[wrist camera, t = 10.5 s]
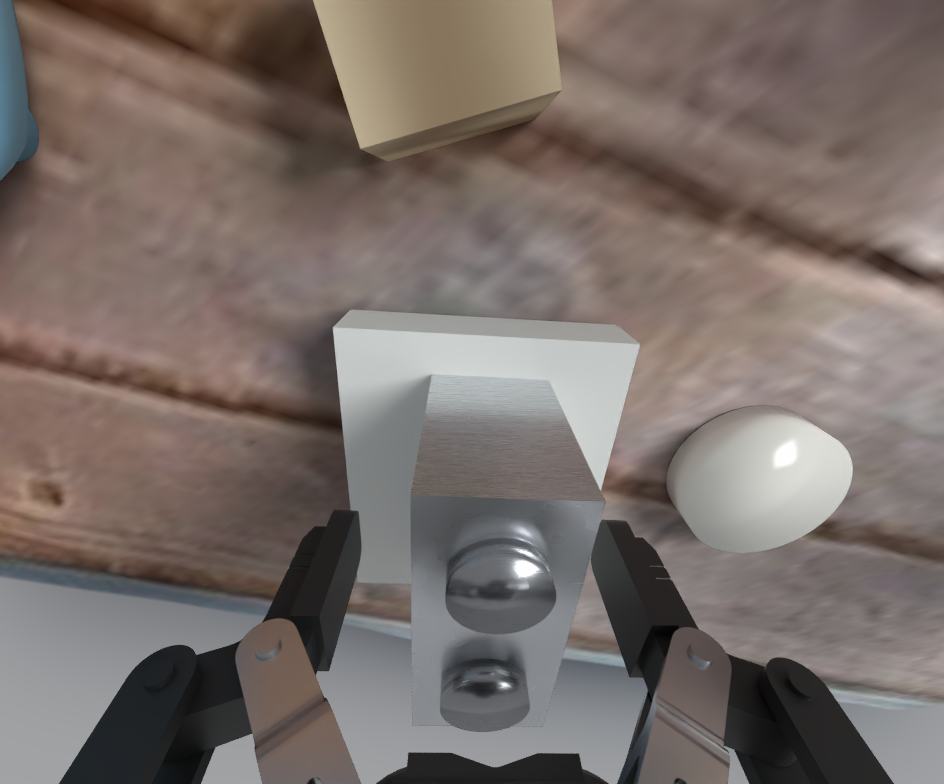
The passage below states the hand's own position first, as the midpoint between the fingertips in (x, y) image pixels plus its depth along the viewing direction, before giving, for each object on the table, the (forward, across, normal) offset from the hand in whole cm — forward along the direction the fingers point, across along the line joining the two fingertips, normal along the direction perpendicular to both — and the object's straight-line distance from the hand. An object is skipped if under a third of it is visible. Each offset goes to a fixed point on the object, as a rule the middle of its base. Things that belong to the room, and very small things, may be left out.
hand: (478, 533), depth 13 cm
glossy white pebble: (+6, -13, +1) cm, 14 cm away
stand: (+6, 0, 0) cm, 6 cm away
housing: (+3, 0, 0) cm, 3 cm away
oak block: (+6, +2, -14) cm, 15 cm away
